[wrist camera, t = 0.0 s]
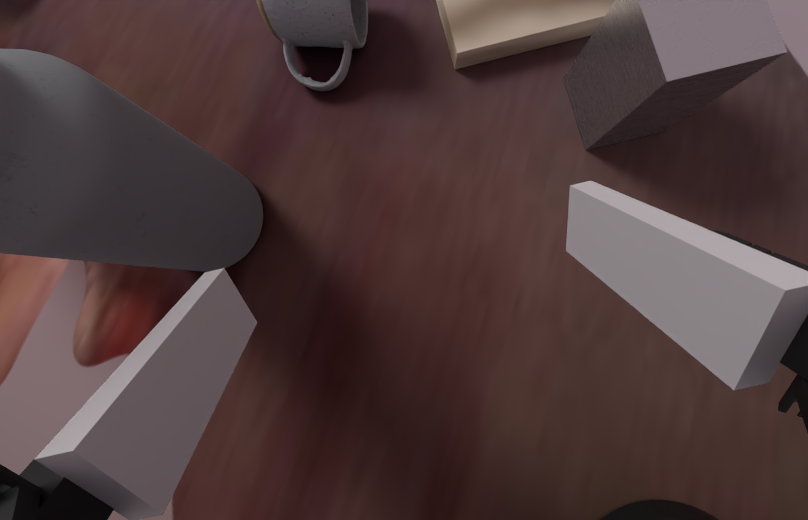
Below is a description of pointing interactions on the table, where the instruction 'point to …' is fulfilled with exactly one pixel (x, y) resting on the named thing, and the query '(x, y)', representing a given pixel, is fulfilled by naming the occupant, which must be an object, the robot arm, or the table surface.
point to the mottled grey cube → (665, 63)
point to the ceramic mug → (317, 30)
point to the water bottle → (110, 177)
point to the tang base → (514, 26)
